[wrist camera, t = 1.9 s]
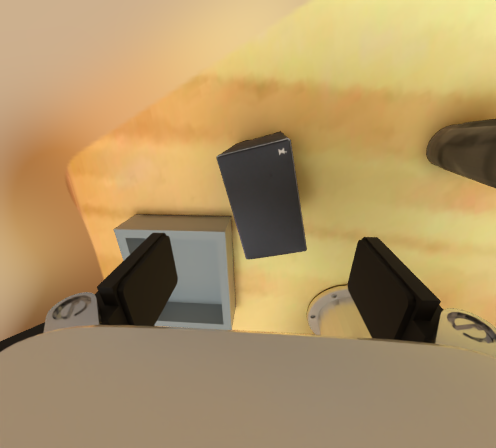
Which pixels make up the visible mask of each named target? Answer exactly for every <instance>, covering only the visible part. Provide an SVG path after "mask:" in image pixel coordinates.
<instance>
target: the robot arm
mask: <svg viewBox="0 0 496 448" xmlns="http://www.w3.org/2000/svg"><path fill="white" fill-rule="evenodd" d="M177 282H178V276H177V271H176V266H175V261H174V256H173V251H172V246H171V241H170V237H169V236H167V235H166V234H165V233H152V234H151V235H150V236H149V237H148V238H147V239H146V240H145V241H144V242H143V243H141V244H140V245H139V246H138V247H137V248H136V249H135V250H134V251H133V252H132V253H131V254H130V255H129V256H128V257H127V258H126V259H125V260H124V261H123V262H122V263H121V264H120V265H119V266H118V267H117V268H116V269H115V270H114V271H113V272H112V273H111V274H110V275H109V276H108V277H107V278H106V279H105V280H104V281H103V282H101V283H100V285H98V286H97V288H98V292H97V293H96V294H95V295H94V294H92V293H87V292H86V293H79V294H76V295H72V296H70V297H67V298H65V299H64V300H62V301H60V302H58V303H57V304H56V305H55V306H53V307H52V308H51V310H50V311H49V312H48V314H47V316H46V322H45V323H42V324H40V325H38V326H35V327H33V328H31V329H28V330H26V331H24V332H21V333H19V334H17V335H14V336H12V337H10V338H7V339H5V340H3V341H1V342H0V448H496V328H495V327H494V326H493V325H491V324H490V323H489V322H487V321H485V320H484V319H482V318H481V317H479V316H476V315H474V314H472V313H470V312H467V311H464V310H460V309H454V308H449V309H445V310H443V309H442V308H441V307H440V306H439V304H440V302H441V301H440V300H439V299H438V298H437V297H436V296H435V295H434V294H433V293H432V292H431V291H430V290H429V289H428V288H427V287H426V286H425V285H424V284H423V283H422V282H421V281H420V280H419V279H418V278H417V277H416V276H415V275H414V274H413V273H412V272H411V271H410V270H409V269H408V268H407V267H406V266H405V265H404V264H403V263H402V262H401V261H400V260H399V258H398V257H397V256H396V255H395V254H394V253H393V252H392V251H391V250H390V249H389V248H388V247H387V246H386V245H385V244H384V243H383V242H382V241H381V240H380V239H379V238H377V237H364V238H363V239H362V240H359V241H358V244H357V248H356V252H355V256H354V260H353V264H352V268H351V273H350V277H349V281H348V285H346V286H338V287H334V288H331V289H329V290H326V291H324V292H322V293H321V294H319V295H318V296H317V297H316V298H314V300H313V301H312V302H311V303H310V305H309V307H308V311H307V319H308V324H309V326H310V328H311V330H312V331H313V332H314V333H315V334H316V335H311V334H294V333H276V332H258V331H239V330H220V329H200V328H179V327H159V326H154V325H155V323H156V322H157V320H158V318H159V316H160V314H161V312H162V311H163V309H164V307H165V305H166V303H167V301H168V300H169V298H170V296H171V294H172V292H173V290H174V289H175V287H176V285H177Z"/></svg>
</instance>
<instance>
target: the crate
mask: <svg viewBox="0 0 496 448" xmlns="http://www.w3.org/2000/svg"><path fill="white" fill-rule="evenodd" d="M114 232H115V235H116V238H117V241H118V245H119V248H120V251H121V254H122V257H123V260H125V259H126V258H127V257H128V256H129V255H130V254H131V253H132V252H133V251H134V250H135V249H136V248H137V247H138V246H139V245H140V244H141V243H143V242H144V241H145V240H146V239H147V238H148V237H149V236H150V235H151V234H152V233H165V234H166V235H167V236H169V237H170V241H171V246H172V251H173V256H174V261H175V266H176V271H177V276H178V282H177V285H176V287H175V289H174V290H173V292H172V294H171V296H170V298H169V300H168V301H167V303H166V305H165V307H164V309H163V311H162V312H161V314H160V316H159V318H158V320H157V322H156V323H155V325H154V326H166V327H183V328H200V329H220V330H232V325H233V320H234V314H235V308H236V300H235V280H234V261H233V241H232V222H231V216H196V215H141V214H136V215H134V216H133V217H131V218H130V219H128V220H127V221H125V222H124V223H122V224H121V225H119V226H118V227H116V228H115V229H114Z"/></svg>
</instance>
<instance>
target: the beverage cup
mask: <svg viewBox="0 0 496 448" xmlns="http://www.w3.org/2000/svg"><path fill="white" fill-rule="evenodd" d="M426 155H427V158H428V160H429V161H430V162H431V163H432V164H434V165H437V166H439V167H441V168H443V169H445V170H448V171H451V172H453V173H456V174H459V175H461V176H464V177H467V178H469V179H472V180H475V181H477V182H480V183H483V184H485V185H488V186H491V187H494V188H496V119H491V120H483V121H474V122H466V123H462V124H458V125H451V126H447V127H445V128H443V129H441V130H439V131H438V132H437V133H436V134H435V135H434V136H433V137H432V139H431V140H430V141H429V144H428V146H427V153H426Z"/></svg>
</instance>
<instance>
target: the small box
mask: <svg viewBox="0 0 496 448" xmlns="http://www.w3.org/2000/svg"><path fill="white" fill-rule="evenodd" d="M217 161H218V164H219V168H220V171H221V175H222V178H223V181H224V185H225V188H226V191H227V195H228V198H229V201H230V205H231V208H232V212H233V215H234V218H235V222H236V225H237V229H238V232H239V236H240V239H241V243H242V246H243V250H244V253H245V257H246V259H256V258H263V257H269V256H276V255H283V254H289V253H296V252H302V251H306V250H307V247H306V240H305V233H304V226H303V220H302V213H301V205H300V199H299V192H298V186H297V179H296V172H295V165H294V159H293V152H292V146H291V140H290V139H289V138H288V137H286V136H285V135H284V134H283V133H282V132H281V131H280V132H277V133H275V134H273V135H267V136H264V137H261V138H257V139H256V138H255V139H253V140H247V141H243V142H241V143H238V144H235V145H234V146H232V147H231V148H229V149H228V150H226V151H224V152H223V153H222V154H220V155H218V156H217Z"/></svg>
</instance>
